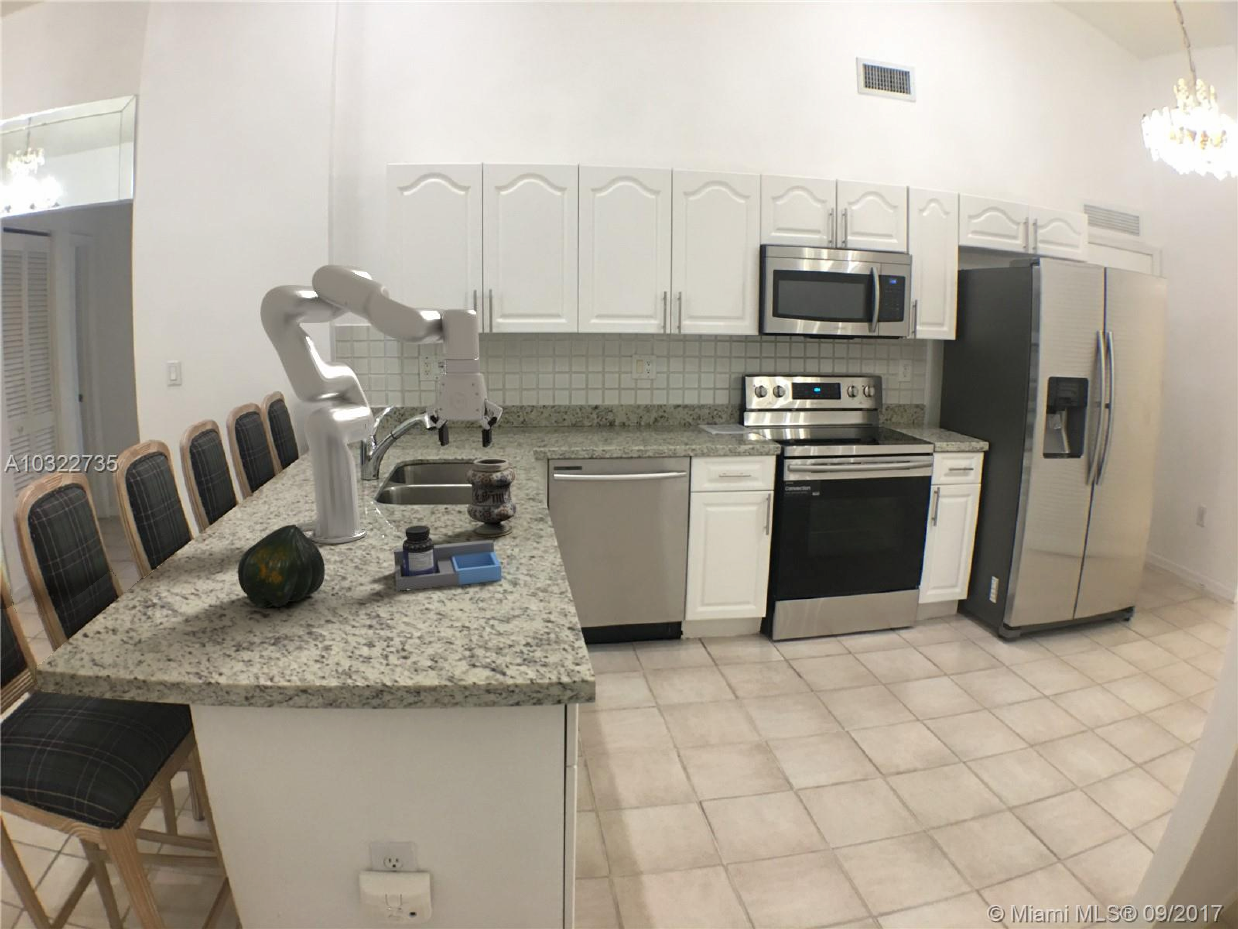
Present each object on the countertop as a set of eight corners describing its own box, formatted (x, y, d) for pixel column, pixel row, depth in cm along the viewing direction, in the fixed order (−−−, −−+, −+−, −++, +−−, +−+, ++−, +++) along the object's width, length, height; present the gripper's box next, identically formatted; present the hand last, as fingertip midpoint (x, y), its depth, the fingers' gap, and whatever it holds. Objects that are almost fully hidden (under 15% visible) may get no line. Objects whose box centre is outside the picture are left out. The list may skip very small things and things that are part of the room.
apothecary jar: (521, 525, 182) (520, 456, 178) (510, 539, 170) (508, 466, 167) (476, 523, 183) (473, 455, 179) (461, 537, 171) (458, 465, 168)
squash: (206, 586, 126) (258, 525, 124) (249, 561, 141) (296, 506, 139) (270, 636, 127) (322, 577, 126) (306, 606, 142) (353, 552, 140)
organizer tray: (396, 591, 138) (395, 567, 137) (395, 571, 149) (393, 549, 148) (501, 580, 144) (500, 556, 143) (493, 561, 155) (492, 539, 154)
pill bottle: (408, 575, 147) (405, 524, 144) (438, 574, 147) (435, 523, 145) (401, 586, 141) (398, 533, 138) (433, 585, 141) (430, 532, 139)
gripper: (416, 368, 150) (421, 447, 154) (494, 369, 147) (497, 450, 151) (431, 365, 157) (435, 441, 161) (506, 366, 155) (508, 444, 158)
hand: (465, 445), depth 156 cm, fingers open, 9 cm apart
